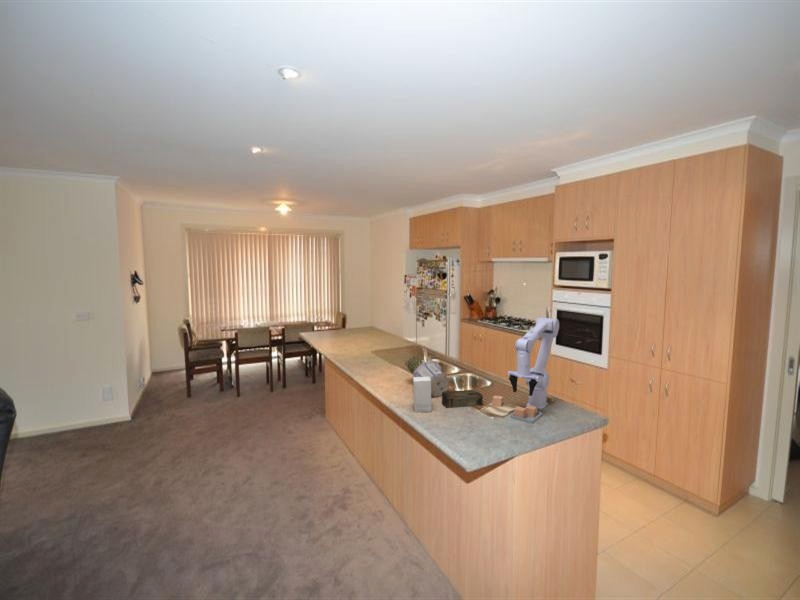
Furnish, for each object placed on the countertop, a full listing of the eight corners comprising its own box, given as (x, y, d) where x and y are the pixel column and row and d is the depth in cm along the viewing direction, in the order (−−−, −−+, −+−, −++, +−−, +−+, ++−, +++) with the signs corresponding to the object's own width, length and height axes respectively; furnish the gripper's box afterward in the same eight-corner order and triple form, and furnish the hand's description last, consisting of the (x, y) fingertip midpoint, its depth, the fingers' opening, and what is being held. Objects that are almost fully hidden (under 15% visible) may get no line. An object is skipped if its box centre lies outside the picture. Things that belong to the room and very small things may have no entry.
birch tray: (495, 402, 195) (495, 400, 195) (518, 408, 188) (518, 406, 188) (479, 412, 183) (479, 410, 183) (503, 418, 176) (503, 416, 175)
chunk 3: (528, 413, 181) (528, 404, 180) (537, 415, 178) (537, 406, 178) (525, 415, 178) (525, 407, 177) (533, 417, 175) (533, 409, 175)
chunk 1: (494, 403, 193) (494, 395, 193) (502, 404, 192) (502, 396, 191) (492, 405, 190) (492, 397, 189) (500, 407, 188) (501, 399, 188)
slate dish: (521, 410, 184) (521, 407, 184) (542, 416, 178) (542, 412, 178) (510, 418, 175) (510, 415, 175) (532, 424, 169) (532, 421, 169)
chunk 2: (513, 417, 176) (514, 409, 175) (517, 414, 179) (517, 406, 178) (522, 419, 173) (522, 411, 173) (525, 416, 176) (526, 408, 176)
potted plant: (456, 369, 203) (425, 345, 228) (427, 376, 195) (398, 350, 219) (452, 398, 209) (423, 371, 234) (423, 405, 201) (396, 377, 225)
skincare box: (430, 407, 190) (430, 376, 188) (431, 412, 183) (431, 380, 182) (413, 407, 190) (413, 376, 188) (414, 412, 183) (414, 380, 181)
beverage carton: (483, 406, 190) (483, 393, 190) (445, 410, 187) (445, 396, 186) (477, 400, 198) (477, 388, 198) (440, 403, 195) (440, 391, 194)
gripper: (505, 363, 180) (504, 392, 181) (535, 369, 170) (535, 399, 172) (511, 360, 185) (510, 388, 187) (541, 366, 176) (540, 395, 177)
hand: (522, 393), depth 180 cm, fingers open, 7 cm apart
